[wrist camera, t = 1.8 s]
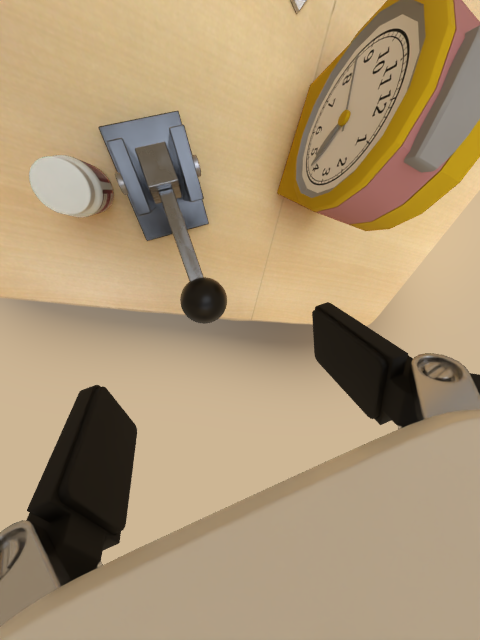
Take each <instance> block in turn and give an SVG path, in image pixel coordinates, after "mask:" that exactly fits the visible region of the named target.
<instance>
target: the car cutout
mask: <svg viewBox="0 0 480 640" xmlns="http://www.w3.org/2000/svg"><path fill="white" fill-rule="evenodd" d="M291 2H292V4H293V6H294V8H295V11H296V13H298V11H299V10H300V9H301V7H302V6H303V5H304V3H305V2H306V0H291Z"/></svg>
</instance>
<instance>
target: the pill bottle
mask: <svg viewBox="0 0 480 640" xmlns="http://www.w3.org/2000/svg"><path fill="white" fill-rule="evenodd" d="M29 180H30V184H31V187H32V189H33V191H34V193H35V195H36V196H37V197H38V199H39V200H40V201H41V202H42V203H43V204H44V205H46V206H47V207H48V208H50V209H52V210H53V211H55V212H58V213H61V214H65V215H69V216H73V217H88V216H91V215H94V214H97V213H101V212H103V211H105V210H107V209H108V208H109V207H110V206H111V204H112V202H113V198H114V193H113V188H112V185H111V183H110V181H109V179H108V178H107V177H106V175H105V174H104V173H103V172H102V171H101V170H99V169H98V168H96V167H95V166H92V165H90V164H88V163H85V162H83V161H80V160H78V159H76V158H74V157H71V156H66V155H55V156H46V157H42V158H40V159H38V160H36V161H35V162H34V163H33V164H32V166H31V169H30V172H29Z"/></svg>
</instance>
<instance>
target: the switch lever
mask: <svg viewBox="0 0 480 640" xmlns="http://www.w3.org/2000/svg"><path fill="white" fill-rule="evenodd" d="M135 152H136V155H137V158H138V160H139V163H140V166H141V169H142V172H143V175H144V177H145V180H146V183H147V186H148V188H149V191H150V193H151V195H152V197H153V200H154V202H155V204H157V203H161V202H162V204H163V207H164V210H165V213H166V215H167V218H168V221H169V224H170V227H171V230H172V232H173V235H174V238H175V241H176V244H177V247H178V249H179V252H180V255H181V258H182V261H183V264H184V267H185V269H186V272H187V275H188V278H189V281H190V282H189V283H188V284H187V285H186V286H185V287H184V289H183V291H182V293H181V299H180V301H181V307H182V309H183V311H184V313H185V314H186V316H187V317H188V318H190V319H191V320H193V321H195V322H198V323H210V322H213V321H215V320H217V319H218V318H219V317H220V316H221V315H222V314H223V313H224V311H225V309H226V305H227V296H226V293H225V290H224V289H223V287H222V286H221V285H220V284H219V283H218V282H217V281H215V280H213V279H211V278H206V277H203V274H202V271H201V268H200V265H199V262H198V260H197V257H196V254H195V251H194V248H193V245H192V242H191V239H190V236H189V234H188V231H187V228H186V225H185V222H184V219H183V216H182V213H181V211H180V208H179V205H178V202H177V198H181V197H182V195H181V190H180V185H179V180H178V177H177V174H176V171H175V168H174V165H173V163H172V160H171V157H170V154H169V151H168V148H167V145H166V143H165V142H161V143H156V144H152V145H147V146H143V147H138V148H135Z"/></svg>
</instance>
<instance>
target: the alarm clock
mask: <svg viewBox="0 0 480 640" xmlns="http://www.w3.org/2000/svg"><path fill="white" fill-rule="evenodd" d="M479 157H480V22H479V21H478V19H477V18H476V17H475V16H474V14H473V13H472V12H471V11H470V10H469V8H468V7H467V6H466V5H465V4H464V2H463V1H462V0H387V1H386V2H385V4H384V5H383V6H382V7H381V8H380V9H379V10H378V11H377V12H376V13H375V14H374V15H373V16H372V18H371V19H370V20H369V21H368V22H367V23H366V24H365V25H364V26H363V27H362V28H361V29H360V31H359V32H358V33H357V34H356V36H355V37H354V38H353V40H352V41H351V43H350V44H349V45H348V46H347V47H346V48H345V49H344V51H343V52H342V53H341V54H340V55H339V56H338V57H337V58H336V59H335V60H334V61H333V62H332V63H331V64H330V65H329V66H328V67H327V68H326V69H325V70H324V71H323V72H322V73H321V74H320V75H319V76H318V78H317V79H316V80H315V81H314V82H313V83H312V84H311V85H310V88H309V91H308V94H307V97H306V101H305V104H304V107H303V110H302V114H301V117H300V120H299V123H298V127H297V130H296V133H295V136H294V140H293V143H292V146H291V149H290V153H289V156H288V159H287V162H286V166H285V169H284V172H283V176H282V179H281V182H280V185H279V189H278V192H277V194H280V195H282V196H284V197H286V198H288V199H290V200H292V201H294V202H296V203H298V204H300V205H302V206H304V207H306V208H308V209H310V210H312V211H314V212H317V213H320V214H322V215H325V216H327V217H330V218H333V219H335V220H338V221H341V222H343V223H346V224H349V225H351V226H354V227H356V228H359V229H362V230H364V231H372V230H383V229H391V228H393V227H395V226H397V225H399V224H401V223H403V222H405V221H407V220H410V219H412V218H414V217H416V216H418V215H420V214H422V213H423V212H425V211H426V210H427V209H428V208H429V207H431V206H432V205H433V204H434V203H435V202H437V201H438V200H439V199H440V198H442V197H443V196H444V195H445V194H446V193H448V192H449V191H450V190H451V189H452V188H454V187H455V186H456V185H457V184H458V183H460V181H461V180H462V179H463V178H464V176H465V175H466V174H467V172H468V171H469V170H470V169H471V167H472V166H473V165H474V163H475V162H476V161H477V159H478V158H479Z"/></svg>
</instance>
